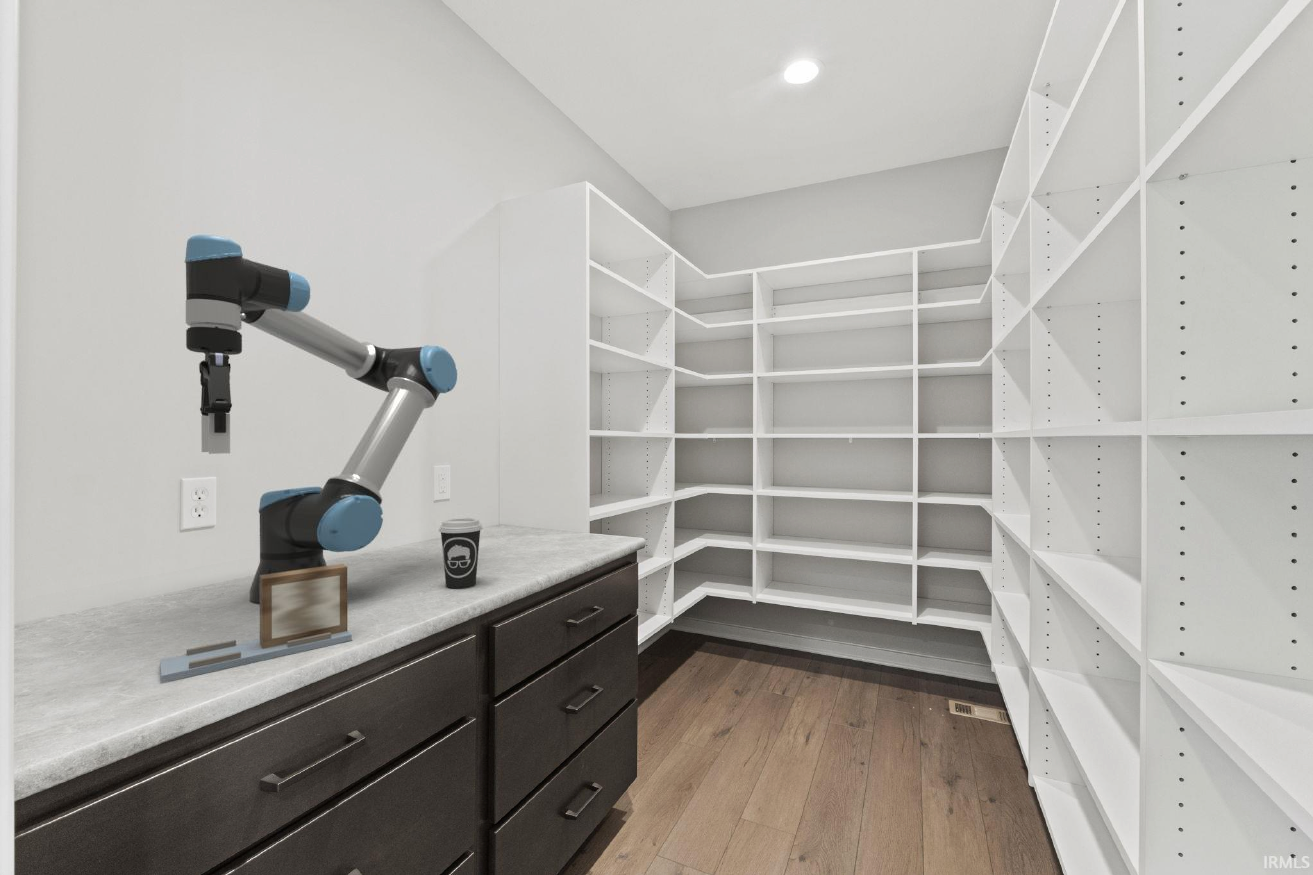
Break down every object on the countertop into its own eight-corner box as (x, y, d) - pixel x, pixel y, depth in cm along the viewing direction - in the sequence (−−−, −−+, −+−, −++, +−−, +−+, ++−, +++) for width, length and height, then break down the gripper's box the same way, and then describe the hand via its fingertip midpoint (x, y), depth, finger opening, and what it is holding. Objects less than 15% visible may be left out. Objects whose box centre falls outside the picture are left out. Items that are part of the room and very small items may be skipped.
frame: (262, 648, 88) (262, 579, 88) (259, 643, 90) (259, 575, 90) (347, 630, 96) (347, 566, 96) (342, 626, 98) (342, 563, 98)
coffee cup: (491, 583, 130) (491, 519, 130) (457, 593, 122) (456, 524, 122) (464, 578, 136) (464, 516, 136) (429, 587, 128) (429, 521, 128)
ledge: (160, 665, 84) (160, 653, 84) (339, 628, 100) (339, 618, 100) (161, 682, 78) (161, 670, 78) (351, 640, 94) (351, 629, 94)
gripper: (252, 321, 89) (253, 453, 89) (232, 341, 107) (233, 451, 107) (191, 314, 84) (192, 454, 84) (181, 336, 102) (182, 451, 102)
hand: (215, 453), depth 96 cm, fingers open, 13 cm apart
